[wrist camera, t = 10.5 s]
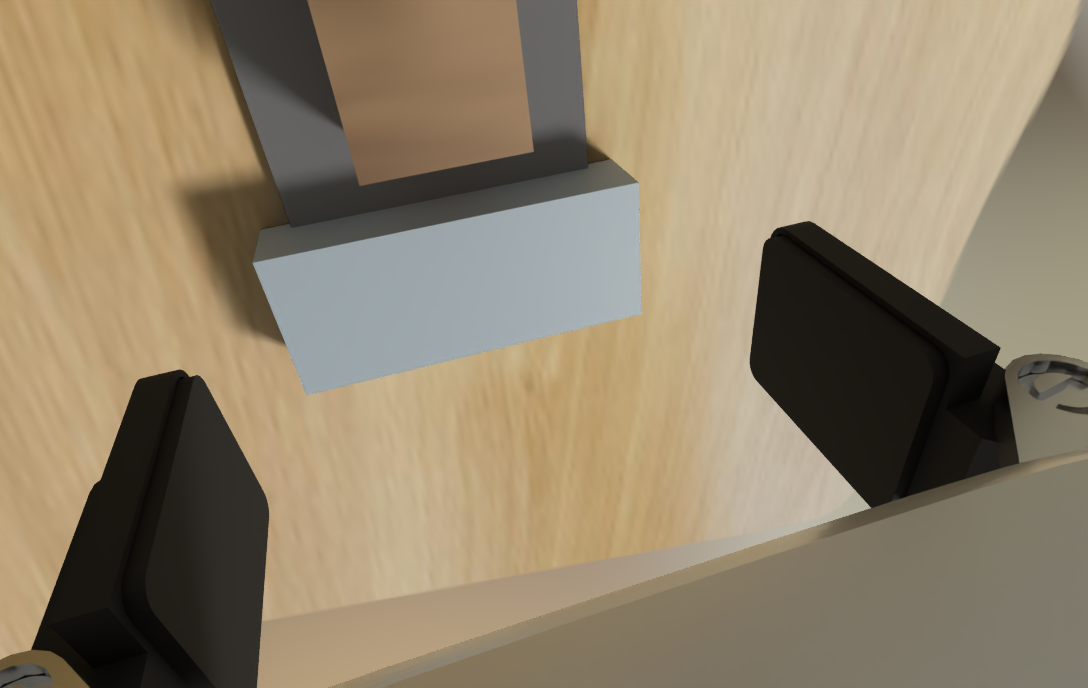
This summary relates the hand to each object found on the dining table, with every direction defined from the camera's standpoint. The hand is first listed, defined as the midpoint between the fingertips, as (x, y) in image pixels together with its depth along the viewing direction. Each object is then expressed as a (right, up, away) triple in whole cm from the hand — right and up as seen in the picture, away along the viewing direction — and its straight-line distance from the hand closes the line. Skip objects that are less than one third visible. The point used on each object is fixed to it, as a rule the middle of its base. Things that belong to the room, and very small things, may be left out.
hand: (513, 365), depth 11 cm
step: (-3, +3, +12) cm, 13 cm away
